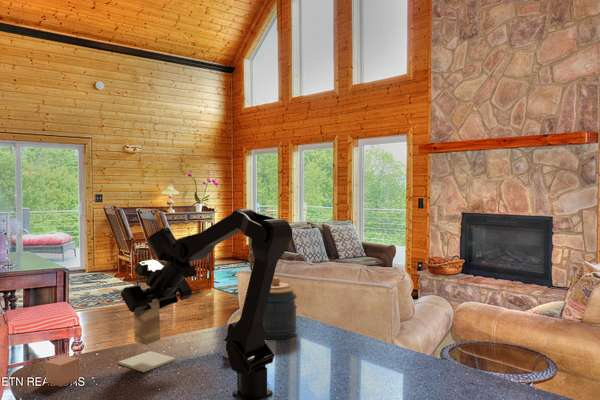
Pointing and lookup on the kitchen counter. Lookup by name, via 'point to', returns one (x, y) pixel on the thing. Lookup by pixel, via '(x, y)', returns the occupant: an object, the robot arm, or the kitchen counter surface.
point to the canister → (280, 311)
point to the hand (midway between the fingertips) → (143, 313)
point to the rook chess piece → (225, 346)
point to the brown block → (148, 323)
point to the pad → (146, 361)
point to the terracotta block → (62, 370)
